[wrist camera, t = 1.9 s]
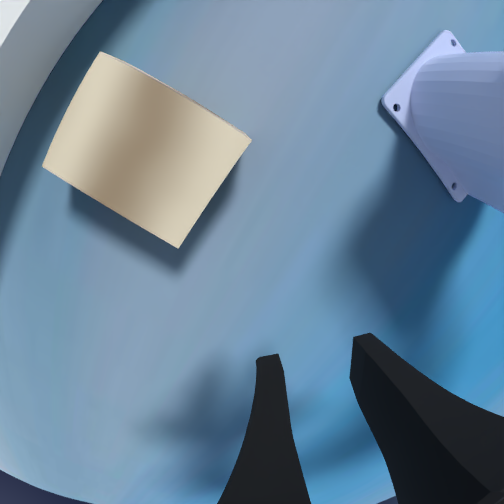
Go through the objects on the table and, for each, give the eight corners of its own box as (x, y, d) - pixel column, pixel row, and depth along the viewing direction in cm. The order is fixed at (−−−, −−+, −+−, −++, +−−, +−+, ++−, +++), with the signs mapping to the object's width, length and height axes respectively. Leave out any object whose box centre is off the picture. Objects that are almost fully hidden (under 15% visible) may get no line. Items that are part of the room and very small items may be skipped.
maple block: (245, 133, 17) (252, 140, 13) (186, 219, 18) (178, 248, 15) (125, 61, 14) (100, 51, 10) (75, 152, 16) (41, 166, 12)
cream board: (186, -79, 10) (176, -134, 4) (-16, 226, 17) (-66, 265, 11) (156, -91, 9) (138, -142, 4) (-36, 208, 16) (-87, 242, 10)
